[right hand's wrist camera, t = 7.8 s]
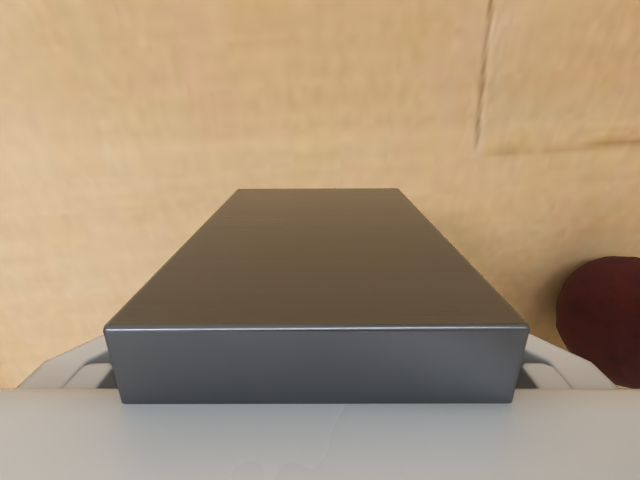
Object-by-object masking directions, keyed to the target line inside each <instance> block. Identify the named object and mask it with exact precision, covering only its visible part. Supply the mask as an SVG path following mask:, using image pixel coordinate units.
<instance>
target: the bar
mask: <svg viewBox="0 0 640 480" xmlns="http://www.w3.org/2000/svg"><path fill="white" fill-rule="evenodd" d="M529 331H530V329H529V325H528V323H527V322H526V321H525V320H524V319H523V318H522V317H521V316H520V315H519V314H518V313H517V312H516V311H515V310H514V309H513V308H512V307H511V306H510V305H509V304H508V303H507V301H506V300H505V299H504V298H503V297H502V296H501V295H500V294H499V293H498V292H497V291H496V290H495V289H494V288H493V287H492V286H491V285H490V284H489V283H488V282H487V281H486V280H485V279H484V278H483V276H482V275H481V274H480V273H479V272H478V271H477V270H476V269H475V268H474V267H473V266H472V265H471V264H470V263H469V262H468V261H467V260H466V259H465V258H464V257H463V256H462V255H461V254H460V253H459V251H458V250H457V249H456V248H455V247H454V246H453V245H452V244H451V243H450V242H449V241H448V240H447V239H446V238H445V237H444V236H443V235H442V234H441V233H440V232H439V231H438V230H437V229H436V228H435V227H434V225H433V224H432V223H431V222H430V221H429V220H428V219H427V218H426V217H425V216H424V215H423V214H422V213H421V212H420V211H419V210H418V209H417V208H416V207H415V206H414V205H413V204H412V203H411V202H410V200H409V199H408V198H407V197H406V196H405V195H404V194H403V193H402V192H401V191H400V190H399V189H238V190H237V191H236V192H235V193H234V194H233V195H232V196H231V197H230V198H229V199H228V200H227V201H226V202H225V203H224V204H223V205H222V206H221V207H220V208H219V209H218V210H217V211H216V212H215V213H214V214H213V215H212V216H211V217H210V218H209V219H208V220H207V221H206V222H205V223H204V224H203V226H202V227H201V228H200V229H199V230H198V231H197V232H196V233H195V234H194V235H193V236H192V237H191V238H190V239H189V240H188V241H187V242H186V243H185V244H184V245H183V246H182V247H181V248H180V249H179V250H178V251H177V252H176V253H175V254H174V255H173V256H172V257H171V258H170V259H169V260H168V261H167V262H166V263H165V264H164V265H163V266H162V268H161V269H160V270H159V271H158V272H157V273H156V274H155V275H154V276H153V277H152V278H151V279H150V280H149V281H148V282H147V283H146V284H145V285H144V286H143V287H142V288H141V289H140V290H139V291H138V292H137V293H136V294H135V295H134V296H133V297H132V298H131V299H130V300H129V301H128V302H127V303H126V304H125V305H124V306H123V307H122V308H121V309H120V311H119V312H118V313H117V314H116V315H115V316H114V317H113V318H112V319H111V320H110V321H109V322H108V323H107V324H106V325H105V326H104V330H103V333H104V336H105V340H106V344H107V348H108V352H109V356H110V359H111V363H112V367H113V371H114V375H115V379H116V383H117V386H118V390H119V394H120V398H121V402H122V403H123V404H509V403H512V400H513V396H514V392H515V388H516V384H517V380H518V375H519V371H520V367H521V363H522V359H523V355H524V351H525V347H526V343H527V339H528V335H529Z"/></svg>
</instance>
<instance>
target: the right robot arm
mask: <svg viewBox="0 0 640 480" xmlns="http://www.w3.org/2000/svg"><path fill="white" fill-rule="evenodd" d="M0 480H640V389H619V388H618V387H617V386H616V385H615V384H614V383H613V382H612V381H611V380H610V379H608V378H607V377H606V376H605V375H604V374H603V373H602V372H601V371H600V370H599V369H598V368H597V367H596V366H595V365H594V364H593V363H592V362H590V361H588V360H585V359H583V358H581V357H579V356H577V355H575V354H572V353H570V352H568V351H566V350H564V349H562V348H559V347H557V346H555V345H553V344H551V343H549V342H547V341H544V340H542V339H540V338H538V337H536V336H534V335H531V334H529V335H528V339H527V343H526V347H525V351H524V355H523V359H522V363H521V367H520V371H519V375H518V380H517V384H516V388H515V392H514V396H513V400H512V403H509V404H123V403H122V402H121V398H120V394H119V390H118V386H117V383H116V379H115V375H114V371H113V367H112V363H111V359H110V356H109V352H108V348H107V344H106V340H105V336H104V335H102V336H100V337H98V338H95V339H93V340H91V341H89V342H87V343H85V344H82V345H80V346H78V347H76V348H74V349H71V350H69V351H67V352H65V353H63V354H60V355H58V356H56V357H54V358H52V359H49V360H47V361H45V362H44V363H43V364H42V365H41V366H39V367H38V368H37V369H36V370H35V371H34V372H33V373H32V374H31V375H30V376H29V377H28V378H26V379H25V380H24V381H23V382H22V383H21V384H20V385H19V386H18V387H17V388H16V389H0Z"/></svg>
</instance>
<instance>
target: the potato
mask: <svg viewBox="0 0 640 480" xmlns="http://www.w3.org/2000/svg"><path fill="white" fill-rule="evenodd" d="M556 327H557V329H558V332H559V334H560V337H561V338H562V340H563V342H564V344H565V345H566V347H567V349H568V350H569V351H570V352H571V353H572V354H575V355H577V356H579V357H581V358H583V359H585V360H588V361H590V362H592V363H593V364H594V365H595V366H596V367H597V368H598V369H599V370H600V371H601V372H602V373H603V374H604V375H605V376H606V377H607V378H608V379H610V380H611V381H612V382H613V383H614V384H615V385H619V386H624V387H628V388H633V389H640V258H637V257H617V256H612V257H603V258H600V259H596V260H593V261H590V262H587V263H586V264H585V265H583V266H582V267H580V268H579V269H577V270H576V271H575V272H574V273H573V274H572V275H571V276H570V277H569V279H568V280H567V281H566V282H565V284H564V286H563V288H562V291H561V293H560V296H559V298H558V300H557V308H556Z"/></svg>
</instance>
